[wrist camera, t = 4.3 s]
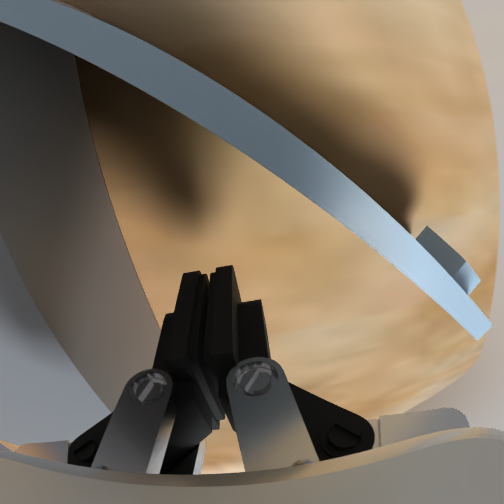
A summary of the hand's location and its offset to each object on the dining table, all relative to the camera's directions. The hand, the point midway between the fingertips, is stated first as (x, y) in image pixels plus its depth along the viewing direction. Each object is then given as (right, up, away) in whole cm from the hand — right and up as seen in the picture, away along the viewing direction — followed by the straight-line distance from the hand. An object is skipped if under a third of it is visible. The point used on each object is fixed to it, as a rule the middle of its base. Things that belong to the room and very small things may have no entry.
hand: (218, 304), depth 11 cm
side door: (+2, +7, +1) cm, 7 cm away
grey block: (-11, +2, +3) cm, 11 cm away
